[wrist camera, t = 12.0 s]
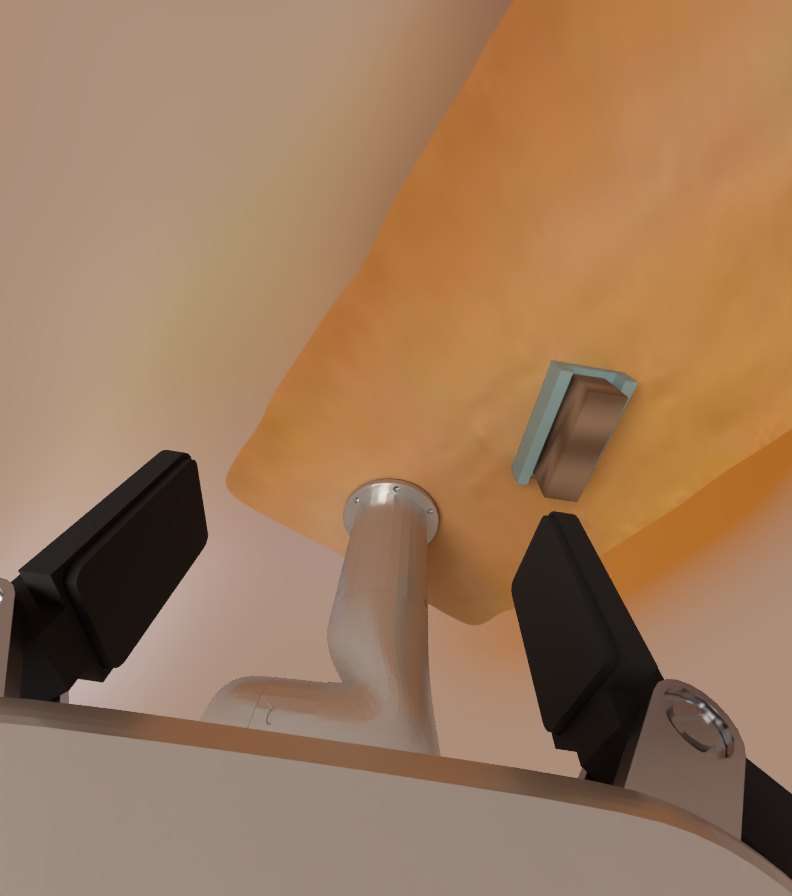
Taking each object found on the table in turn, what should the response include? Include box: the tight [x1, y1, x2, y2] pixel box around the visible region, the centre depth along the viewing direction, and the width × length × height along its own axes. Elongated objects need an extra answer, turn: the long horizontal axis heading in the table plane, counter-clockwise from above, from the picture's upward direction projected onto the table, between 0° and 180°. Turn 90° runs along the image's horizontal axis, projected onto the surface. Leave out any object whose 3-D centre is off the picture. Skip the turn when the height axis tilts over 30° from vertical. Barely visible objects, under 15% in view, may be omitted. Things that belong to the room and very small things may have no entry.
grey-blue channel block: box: [512, 361, 638, 494], centre depth 40 cm, size 14×8×3 cm, turn 171°
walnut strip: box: [533, 374, 628, 502], centre depth 38 cm, size 12×4×5 cm, turn 172°
